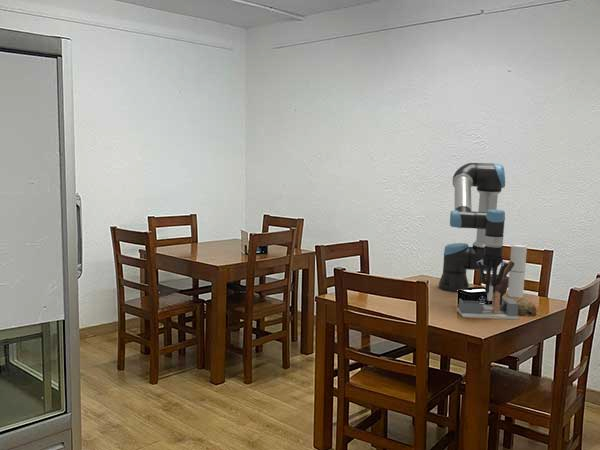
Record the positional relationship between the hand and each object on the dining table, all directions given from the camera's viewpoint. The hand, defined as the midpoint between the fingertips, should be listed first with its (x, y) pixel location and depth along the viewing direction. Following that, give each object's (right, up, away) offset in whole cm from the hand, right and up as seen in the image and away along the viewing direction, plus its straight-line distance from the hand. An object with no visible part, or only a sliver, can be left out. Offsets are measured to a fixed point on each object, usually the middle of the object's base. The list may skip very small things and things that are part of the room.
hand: (489, 300), depth 264 cm
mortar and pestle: (+11, -4, +22) cm, 25 cm away
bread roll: (+16, -7, +6) cm, 19 cm away
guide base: (-1, -6, +1) cm, 6 cm away
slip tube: (0, -5, +1) cm, 5 cm away
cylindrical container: (+25, -3, +39) cm, 46 cm away
